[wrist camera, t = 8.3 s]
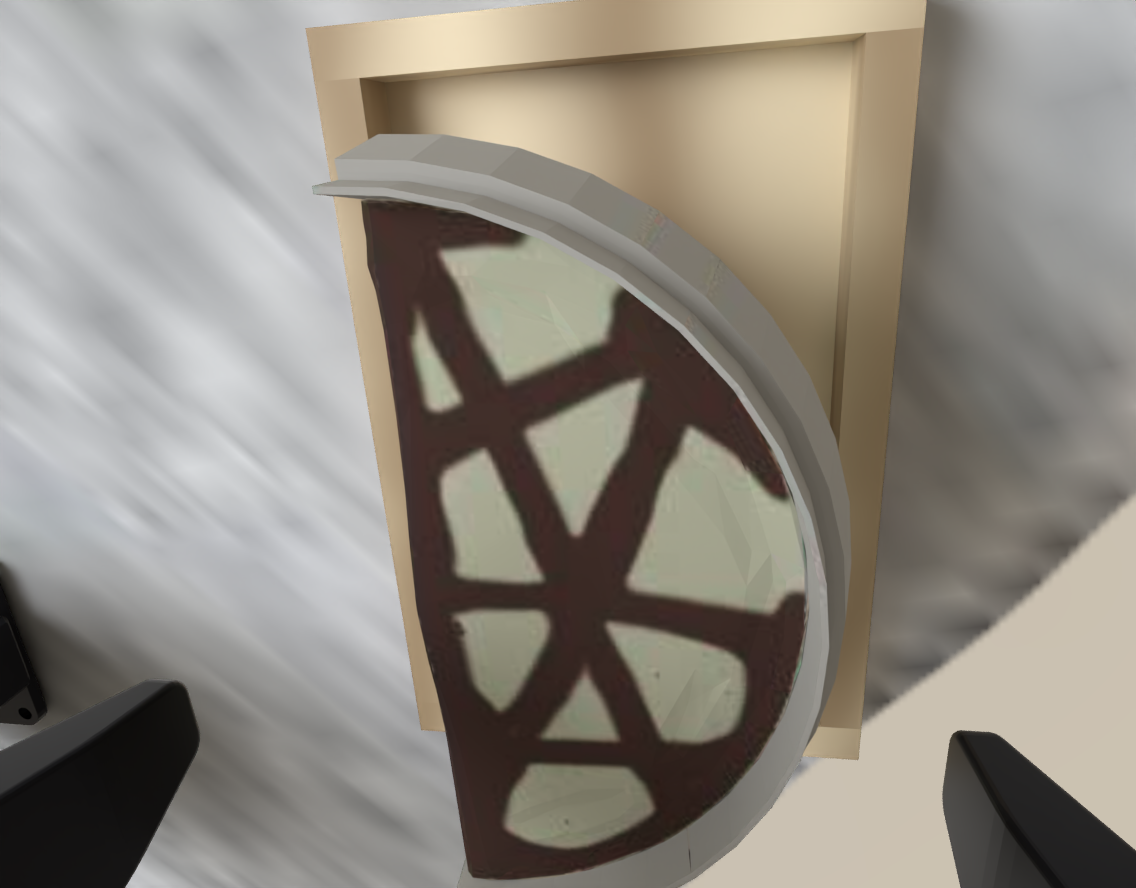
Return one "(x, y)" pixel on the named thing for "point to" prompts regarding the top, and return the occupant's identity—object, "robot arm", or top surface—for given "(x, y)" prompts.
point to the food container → (599, 514)
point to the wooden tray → (677, 194)
